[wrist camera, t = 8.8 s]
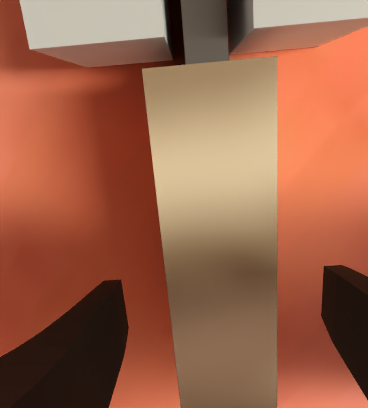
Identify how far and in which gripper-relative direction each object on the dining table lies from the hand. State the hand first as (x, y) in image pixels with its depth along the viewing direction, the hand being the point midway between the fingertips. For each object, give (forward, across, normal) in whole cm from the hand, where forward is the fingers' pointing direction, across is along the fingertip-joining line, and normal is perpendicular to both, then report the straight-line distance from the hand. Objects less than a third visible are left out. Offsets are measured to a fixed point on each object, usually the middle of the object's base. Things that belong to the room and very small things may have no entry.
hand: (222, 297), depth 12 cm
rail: (+4, 0, -3) cm, 5 cm away
